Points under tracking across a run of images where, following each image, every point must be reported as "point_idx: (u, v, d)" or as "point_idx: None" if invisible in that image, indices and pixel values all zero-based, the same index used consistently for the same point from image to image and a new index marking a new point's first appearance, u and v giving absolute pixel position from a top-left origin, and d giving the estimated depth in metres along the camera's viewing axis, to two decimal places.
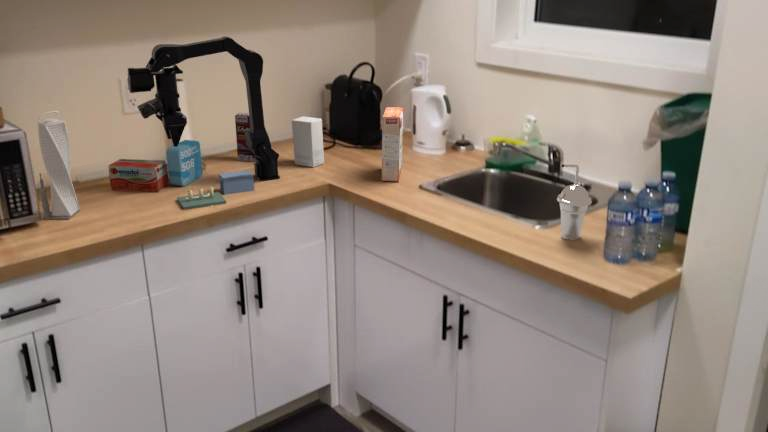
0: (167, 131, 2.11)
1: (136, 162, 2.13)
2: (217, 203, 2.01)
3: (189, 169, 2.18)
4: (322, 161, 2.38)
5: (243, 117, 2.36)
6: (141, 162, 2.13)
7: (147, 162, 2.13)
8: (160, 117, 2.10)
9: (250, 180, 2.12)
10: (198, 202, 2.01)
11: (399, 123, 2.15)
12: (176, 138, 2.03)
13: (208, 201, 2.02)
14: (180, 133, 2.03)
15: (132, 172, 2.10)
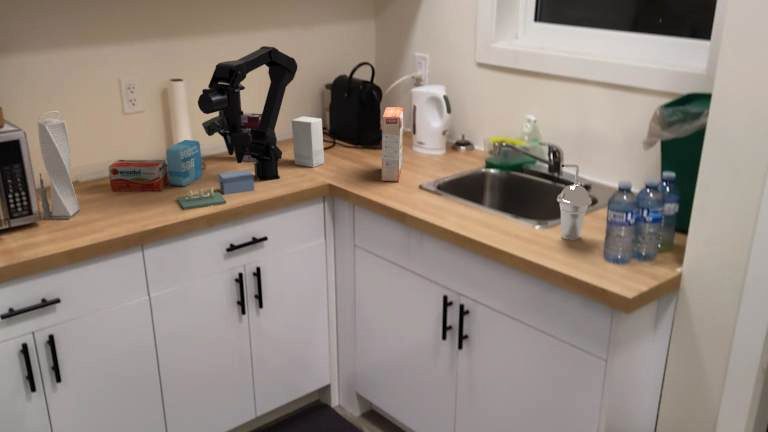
0: (229, 147, 2.13)
1: (136, 162, 2.13)
2: (217, 203, 2.01)
3: (189, 169, 2.18)
4: (322, 161, 2.38)
5: (243, 117, 2.36)
6: (141, 162, 2.13)
7: (147, 162, 2.13)
8: (222, 134, 2.11)
9: (250, 180, 2.12)
10: (198, 202, 2.01)
11: (399, 123, 2.15)
12: (240, 155, 2.05)
13: (208, 201, 2.02)
14: (244, 150, 2.04)
15: (134, 173, 2.10)
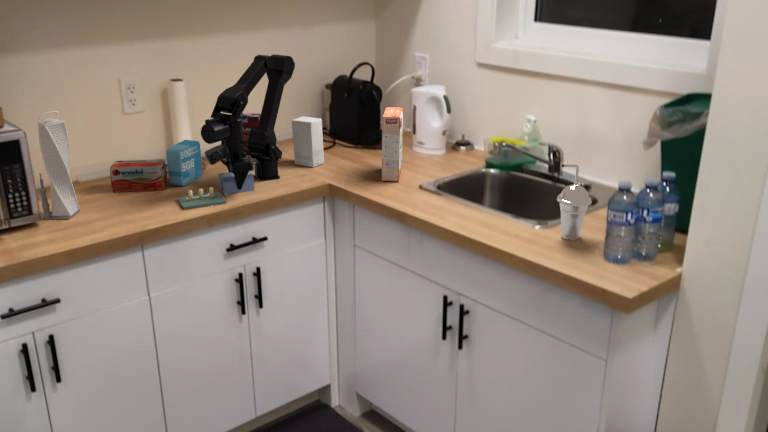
0: None
1: (136, 162, 2.13)
2: (217, 203, 2.01)
3: (189, 169, 2.18)
4: (322, 161, 2.38)
5: None
6: (141, 162, 2.13)
7: (147, 162, 2.13)
8: (226, 163, 2.13)
9: (250, 180, 2.12)
10: (198, 202, 2.01)
11: (399, 123, 2.15)
12: (240, 181, 2.09)
13: (208, 201, 2.02)
14: (244, 177, 2.09)
15: (136, 173, 2.10)
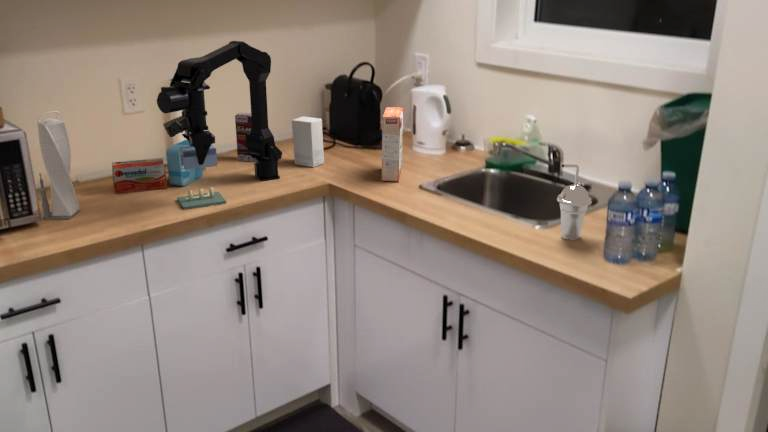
0: None
1: (136, 162, 2.13)
2: (217, 203, 2.01)
3: (189, 169, 2.18)
4: (322, 161, 2.38)
5: (243, 117, 2.36)
6: (141, 162, 2.13)
7: (148, 161, 2.14)
8: (187, 136, 1.99)
9: (213, 154, 1.98)
10: (198, 202, 2.01)
11: (399, 123, 2.15)
12: (202, 156, 1.96)
13: (208, 201, 2.02)
14: (206, 151, 1.95)
15: (139, 172, 2.10)
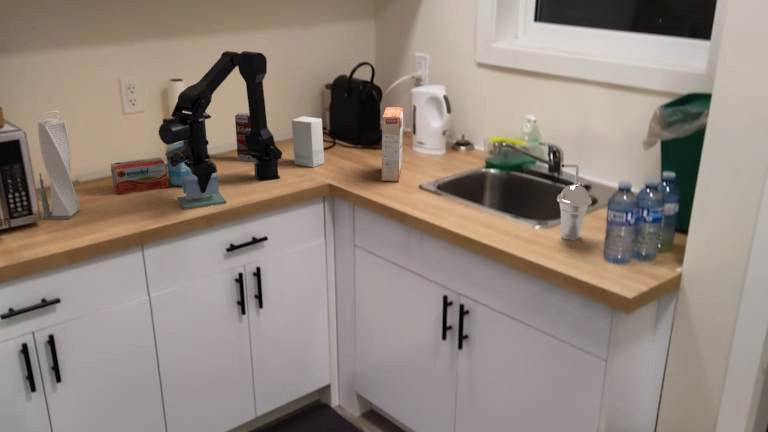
0: None
1: (137, 162, 2.13)
2: (217, 203, 2.01)
3: (189, 169, 2.18)
4: (322, 161, 2.38)
5: (243, 117, 2.36)
6: (142, 162, 2.13)
7: (148, 161, 2.14)
8: (189, 165, 2.02)
9: (214, 182, 2.01)
10: (198, 202, 2.01)
11: (399, 123, 2.15)
12: (204, 184, 1.99)
13: (208, 201, 2.02)
14: (208, 179, 1.98)
15: (141, 172, 2.10)
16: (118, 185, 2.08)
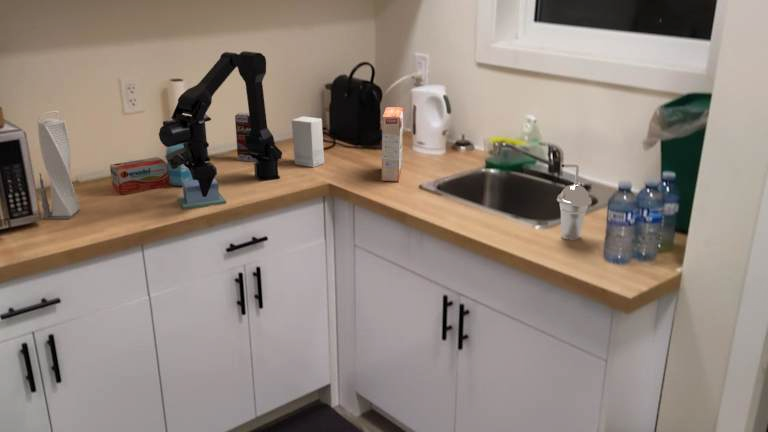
0: (195, 179, 2.05)
1: (137, 163, 2.13)
2: (217, 203, 2.01)
3: None
4: (322, 161, 2.38)
5: (243, 117, 2.36)
6: (142, 162, 2.13)
7: (148, 161, 2.14)
8: (188, 165, 2.04)
9: (215, 189, 2.01)
10: None
11: (399, 123, 2.15)
12: (205, 188, 1.97)
13: (208, 201, 2.02)
14: (209, 183, 1.97)
15: (144, 172, 2.10)
16: (121, 186, 2.08)
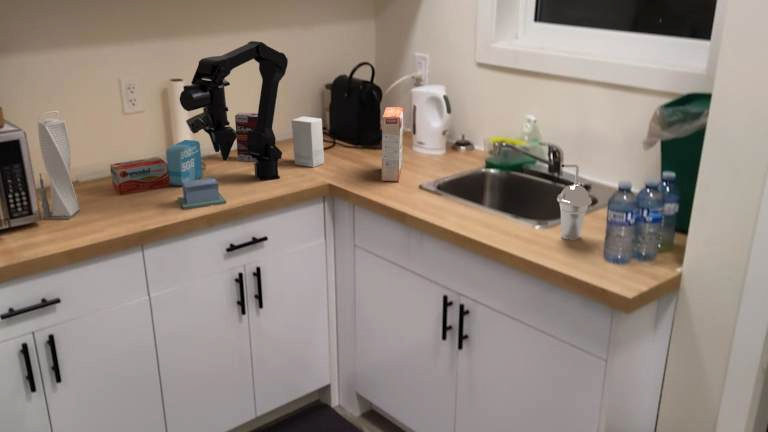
0: (214, 144, 2.09)
1: (137, 162, 2.13)
2: (217, 203, 2.01)
3: (189, 169, 2.18)
4: (322, 161, 2.38)
5: (243, 117, 2.36)
6: (142, 161, 2.14)
7: (148, 161, 2.14)
8: (207, 130, 2.08)
9: (215, 189, 2.01)
10: None
11: (399, 123, 2.15)
12: (225, 152, 2.01)
13: (208, 201, 2.02)
14: (229, 147, 2.01)
15: (143, 172, 2.10)
16: (121, 185, 2.08)
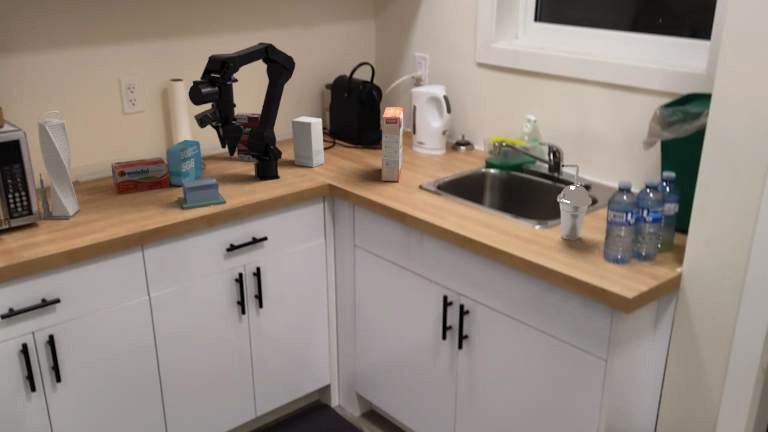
0: (221, 140, 2.11)
1: (137, 162, 2.13)
2: (217, 203, 2.01)
3: (189, 169, 2.18)
4: (322, 161, 2.38)
5: (243, 117, 2.36)
6: (142, 161, 2.14)
7: (148, 161, 2.14)
8: (215, 127, 2.10)
9: (215, 189, 2.01)
10: None
11: (399, 123, 2.15)
12: (232, 148, 2.03)
13: (208, 201, 2.02)
14: (236, 143, 2.03)
15: (142, 172, 2.10)
16: (119, 185, 2.09)
